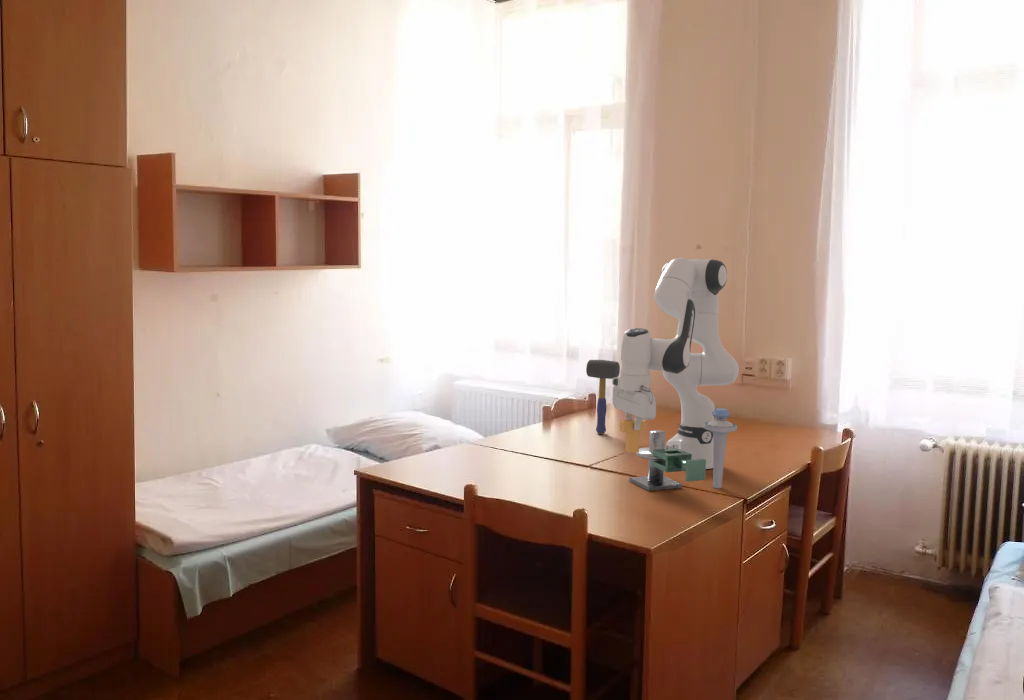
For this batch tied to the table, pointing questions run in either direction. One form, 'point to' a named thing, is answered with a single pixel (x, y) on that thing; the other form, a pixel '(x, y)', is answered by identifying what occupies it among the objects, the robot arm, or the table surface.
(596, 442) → the table surface
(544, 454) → the table surface
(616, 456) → the table surface
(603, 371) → the rubber mallet
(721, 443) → the novelty light stick
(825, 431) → the table surface
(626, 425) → the yellow t-shaped block
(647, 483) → the bracket post
